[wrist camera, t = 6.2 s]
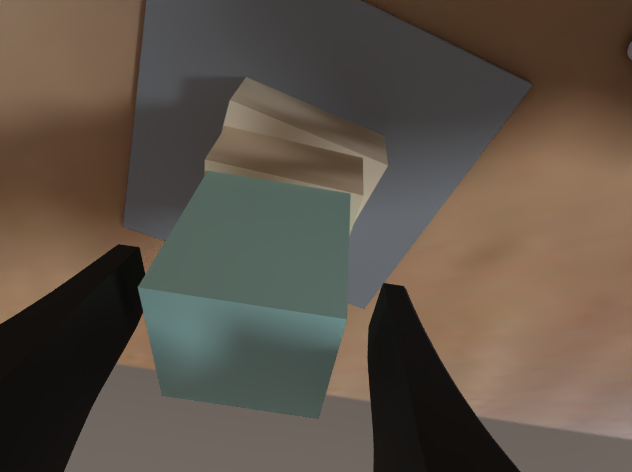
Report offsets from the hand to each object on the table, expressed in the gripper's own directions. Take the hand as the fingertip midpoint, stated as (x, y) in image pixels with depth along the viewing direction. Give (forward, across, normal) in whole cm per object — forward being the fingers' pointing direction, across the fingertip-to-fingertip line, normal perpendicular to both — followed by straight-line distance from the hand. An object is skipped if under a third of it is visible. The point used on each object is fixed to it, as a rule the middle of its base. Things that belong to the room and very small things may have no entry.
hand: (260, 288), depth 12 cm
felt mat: (+8, 0, 0) cm, 8 cm away
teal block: (+2, 0, 0) cm, 2 cm away
